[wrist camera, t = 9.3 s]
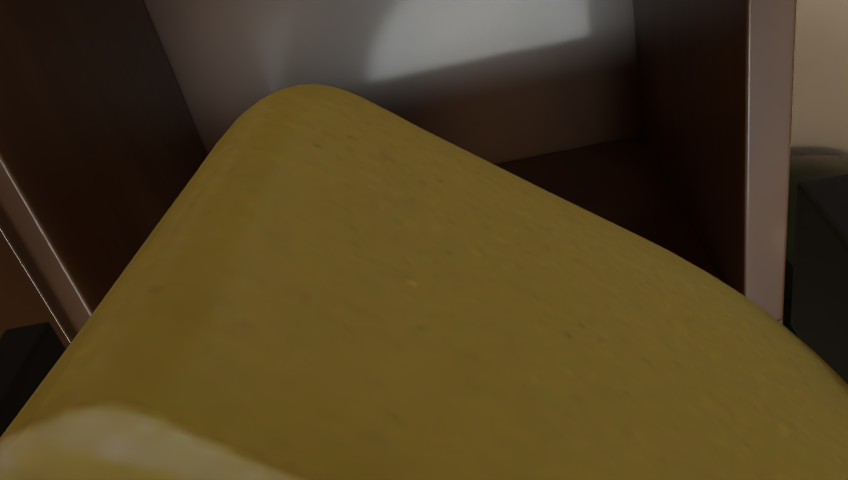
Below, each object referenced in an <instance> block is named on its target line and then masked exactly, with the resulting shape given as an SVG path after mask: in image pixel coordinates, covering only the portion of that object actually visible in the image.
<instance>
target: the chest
mask: <svg viewBox="0 0 848 480" xmlns="http://www.w3.org/2000/svg"><path fill="white" fill-rule="evenodd" d="M796 3H797V0H0V229H1V230H2V232H3V234H4V235H5V237H6V239H7V240H8V242H9V243H10V245H11V247H12V248H13V250H14V252H15V253H16V255H17V256H18V258H19V260H20V261H21V263H22V264H23V266H24V268H25V269H26V271H27V273H28V274H29V276H30V277H31V279H32V281H33V282H34V284H35V286H36V287H37V289H38V290H39V292H40V294H41V295H42V297H43V298H44V300H45V302H46V303H47V305H48V307H49V308H50V310H51V311H52V313H53V315H54V316H55V318H56V320H57V321H58V323H59V324H60V326H61V328H62V329H63V331H64V333H65V334H66V336H67V337H68V339H69V341H70V342H72V341H73V340H74V338H75V337H76V335H77V334H78V333H79V331H80V330H81V329H82V327H83V326H84V325H85V323H86V322H87V320H88V319H89V318H90V316H91V315H92V314H93V312H94V311H95V309H96V308H97V307H98V305H99V304H100V303H101V301H102V300H103V299H104V297H105V296H106V294H107V293H108V292H109V290H110V289H111V288H112V286H113V285H114V283H115V282H116V281H117V279H118V278H119V277H120V275H121V274H122V272H123V271H124V270H125V268H126V267H127V266H128V264H129V263H130V262H131V260H132V259H133V257H134V256H135V255H136V253H137V252H138V251H139V249H140V248H141V246H142V245H143V244H144V242H145V241H146V240H147V238H148V237H149V235H150V234H151V233H152V231H153V230H154V229H155V227H156V226H157V224H158V223H159V222H160V220H161V219H162V218H163V216H164V215H165V214H166V212H167V211H168V209H169V208H170V207H171V205H172V204H173V203H174V201H175V200H176V199H177V197H178V196H179V195H180V193H181V192H182V191H183V189H184V188H185V187H186V185H187V184H188V182H189V181H190V180H191V178H192V177H193V176H194V174H195V173H196V171H197V170H198V169H199V167H200V166H201V164H202V163H203V162H204V160H205V159H206V157H207V156H208V155H209V153H210V152H211V150H212V149H213V148H214V146H215V145H216V143H217V142H218V141H219V140H220V139H221V138H222V136H223V135H224V134H225V133H226V132H227V130H228V129H229V128H230V127H231V126H232V124H233V123H234V122H235V121H236V120H237V119H238V118H239V117H240V116H241V115H242V114H243V113H244V112H245V111H247V110H248V109H249V108H250V107H252V106H253V105H254V104H255V103H257V102H258V101H259V100H260V99H262V98H264V97H266V96H268V95H270V94H272V93H274V92H276V91H278V90H280V89H284V88H288V87H292V86H296V85H305V84H319V85H326V86H332V87H336V88H339V89H343V90H346V91H348V92H351V93H353V94H355V95H358V96H360V97H363V98H365V99H366V100H368V101H370V102H372V103H374V104H376V105H378V106H380V107H382V108H384V109H386V110H388V111H390V112H392V113H394V114H396V115H397V116H399V117H401V118H403V119H405V120H407V121H408V122H410V123H412V124H414V125H416V126H418V127H420V128H422V129H424V130H426V131H428V132H430V133H432V134H434V135H436V136H438V137H440V138H442V139H444V140H446V141H448V142H450V143H452V144H454V145H456V146H458V147H460V148H462V149H464V150H466V151H468V152H470V153H472V154H474V155H476V156H478V157H480V158H482V159H484V160H486V161H488V162H490V163H492V164H494V165H496V166H498V167H500V168H502V169H504V170H506V171H508V172H510V173H512V174H514V175H516V176H518V177H520V178H522V179H524V180H526V181H528V182H530V183H532V184H534V185H536V186H538V187H540V188H542V189H544V190H546V191H548V192H550V193H552V194H554V195H556V196H558V197H560V198H562V199H564V200H566V201H568V202H570V203H572V204H575V205H577V206H579V207H581V208H583V209H585V210H587V211H589V212H591V213H593V214H595V215H597V216H599V217H601V218H603V219H605V220H608V221H610V222H612V223H614V224H616V225H618V226H620V227H622V228H624V229H626V230H628V231H630V232H632V233H634V234H637V235H639V236H641V237H643V238H645V239H647V240H649V241H651V242H653V243H655V244H657V245H659V246H661V247H663V248H665V249H667V250H669V251H670V252H672V253H674V254H676V255H677V256H679V257H681V258H683V259H684V260H686V261H688V262H690V263H691V264H693V265H695V266H697V267H699V268H700V269H702V270H704V271H706V272H707V273H709V274H711V275H712V276H714V277H716V278H717V279H719V280H720V281H722V282H724V283H725V284H727V285H728V286H730V287H732V288H733V289H735V290H736V291H738V292H739V293H741V294H742V295H744V296H745V297H746V298H748V299H749V300H751V301H752V302H753V303H755V304H756V305H757V306H759V307H760V308H761V309H763V310H764V311H765V312H767V313H768V314H769V315H771V316H772V317H773V318H774V319H776V320H777V321H778V322H780V323H781V324H782V325H783V319H782V318H783V306H784V282H785V259H786V236H787V213H788V189H789V166H790V143H791V120H792V96H793V73H794V50H795V27H796Z"/></svg>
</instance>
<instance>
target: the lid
mask: <svg viewBox="0 0 848 480" xmlns="http://www.w3.org/2000/svg"><path fill="white" fill-rule="evenodd" d="M44 322H49V323H50V324H51V326H52V328H53V329H54V331H55V332H56V334H57V336H58V337H59V339H60V340H61V342H62V344H63V345H64V347H65V349H67V348H68V346H69V345H70V342H69V341H68V339H67V338H66V336H65V334H64V333H63V331H62V329H61V328H60V326H59V325H58V323H57V321H56V320H55V318H54V317H53V315H52V313H51V312H50V310H49V308H48V307H47V305H46V304H45V302H44V300H43V299H42V297H41V296H40V294H39V292H38V291H37V289H36V287H35V286H34V284H33V283H32V281H31V279H30V278H29V276H28V274H27V273H26V271H25V270H24V268H23V266H22V265H21V263H20V262H19V260H18V258H17V257H16V255H15V253H14V252H13V250H12V249H11V247H10V245H9V244H8V242H7V241H6V239H5V237H4V236H3V234H2V232H1V231H0V338H1V336H2V335H3V333H4V332H5V330H7V329H12V328H17V327H23V326H28V325H34V324H39V323H44Z"/></svg>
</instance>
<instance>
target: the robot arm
mask: <svg viewBox="0 0 848 480" xmlns="http://www.w3.org/2000/svg"><path fill="white" fill-rule="evenodd" d="M791 326H792V328H793V329H794V331H795V332H796V334H797V336H798V337H799V339H800V340H801V341H803V342H804V343H805V344H806V345H807V346H808V347H810V348H811V349H812V350H813V351H814V352H816V353H817V354H818V355H819V356H820V357H821V358H822V359H823V360H824V361H825V362H826V363H827V364H828V365H829V366H830V367H831V368H832V369H833V370H834V371H835V372H836V373H837V374H838V375H839V376H840V377H841V378H842V379H843V380H844V381H845V382H846V383H847V384H848V174H844V175H839V176H833V177H828V178H822V179H817V180H811V181H806V182H801V183H797V203H796V224H795V244H794V264H793V284H792V305H791ZM65 350H66V349H65V347H64V345H63V344H62V342H61V340H60V339H59V337H58V336H57V334H56V332H55V331H54V329H53V328H52V326H51V324H50V323H49V322H44V323H39V324H34V325H28V326H23V327H17V328H12V329H7V330H5V332H4V333H3V335H2V336H1V338H0V437H1V436H2V435H3V433H4V432H5V431H6V429H7V428H8V427H9V425H10V424H11V423H12V421H13V420H14V419H15V417H16V416H17V415H18V413H19V412H20V411H21V409H22V408H23V407H24V405H25V404H26V403H27V401H28V400H29V399H30V397H31V396H32V394H33V393H34V392H35V390H36V389H37V388H38V386H39V385H40V384H41V382H42V381H43V380H44V378H45V377H46V376H47V374H48V373H49V372H50V370H51V369H52V368H53V366H54V365H55V364H56V362H57V361H58V360H59V358H60V357H61V356H62V354H63V353H64V352H65Z"/></svg>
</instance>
